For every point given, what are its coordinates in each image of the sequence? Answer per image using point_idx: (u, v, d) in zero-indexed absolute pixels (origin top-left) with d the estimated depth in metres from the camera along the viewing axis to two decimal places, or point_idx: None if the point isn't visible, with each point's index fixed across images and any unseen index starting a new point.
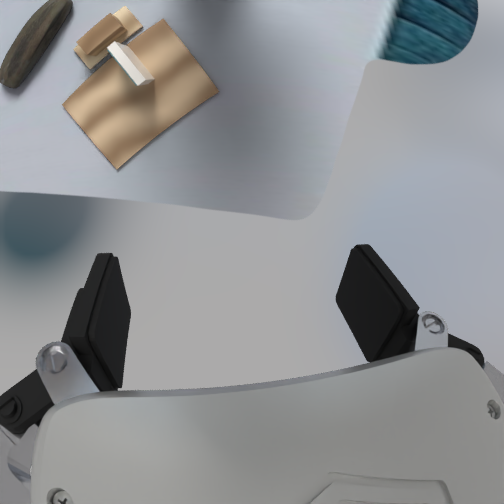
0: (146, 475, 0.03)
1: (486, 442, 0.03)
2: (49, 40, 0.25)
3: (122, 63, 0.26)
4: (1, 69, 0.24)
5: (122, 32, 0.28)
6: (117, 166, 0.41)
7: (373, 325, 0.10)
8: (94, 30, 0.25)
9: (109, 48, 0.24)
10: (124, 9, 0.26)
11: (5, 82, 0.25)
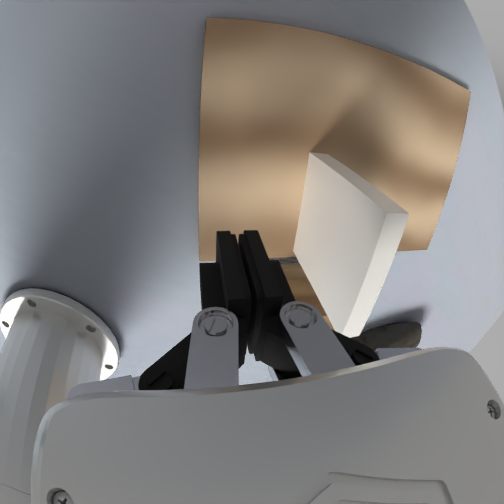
0: (146, 475, 0.03)
1: (486, 442, 0.03)
2: None
3: (376, 288, 0.12)
4: None
5: None
6: (467, 93, 0.15)
7: None
8: None
9: (358, 332, 0.14)
10: None
11: (418, 341, 0.29)
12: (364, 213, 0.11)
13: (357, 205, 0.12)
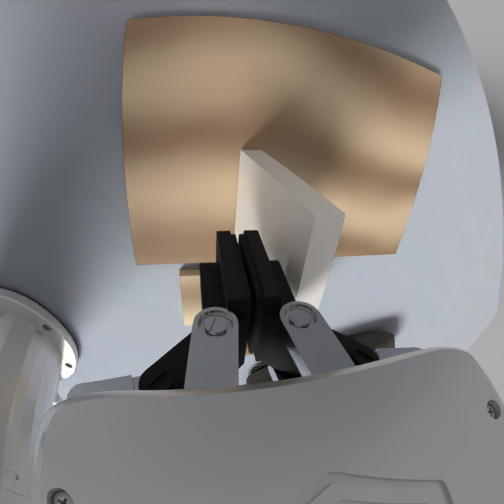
0: (146, 475, 0.03)
1: (486, 442, 0.03)
2: None
3: (315, 299, 0.11)
4: None
5: None
6: (437, 78, 0.14)
7: None
8: None
9: None
10: (189, 320, 0.22)
11: None
12: (292, 216, 0.10)
13: (285, 207, 0.11)
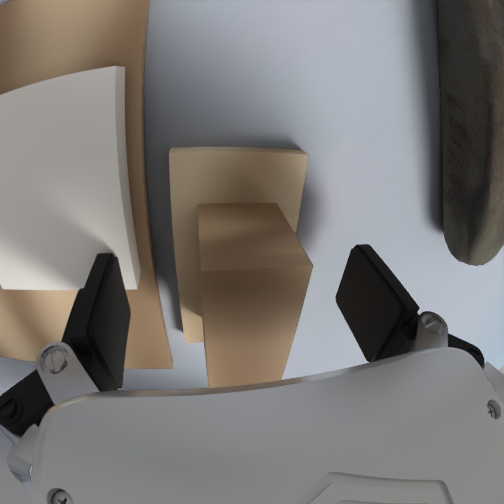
0: (146, 475, 0.03)
1: (486, 442, 0.03)
2: (453, 139, 0.10)
3: None
4: None
5: None
6: None
7: (373, 325, 0.10)
8: (274, 336, 0.09)
9: None
10: None
11: None
12: None
13: None
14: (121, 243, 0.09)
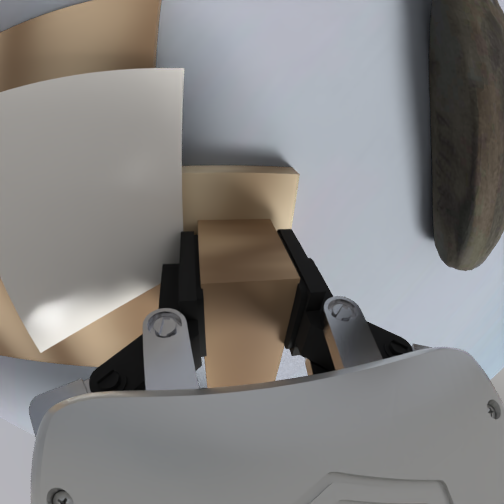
0: (146, 475, 0.03)
1: (486, 442, 0.03)
2: (442, 154, 0.11)
3: None
4: None
5: None
6: None
7: None
8: (267, 341, 0.10)
9: None
10: None
11: None
12: None
13: None
14: (178, 227, 0.11)
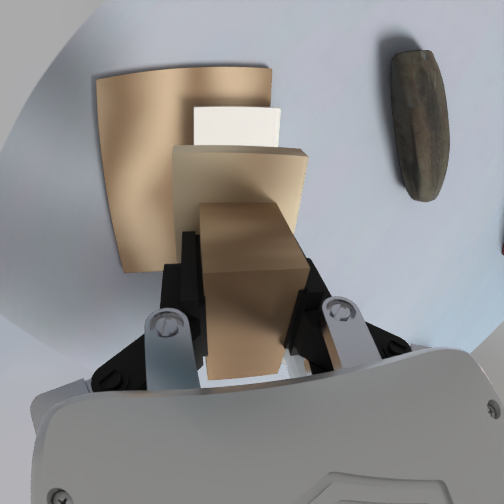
0: (146, 475, 0.03)
1: (486, 442, 0.03)
2: (400, 142, 0.25)
3: None
4: (437, 69, 0.20)
5: None
6: (99, 83, 0.19)
7: None
8: (271, 333, 0.10)
9: (273, 107, 0.22)
10: None
11: (418, 56, 0.19)
12: (202, 123, 0.21)
13: (202, 130, 0.21)
14: None
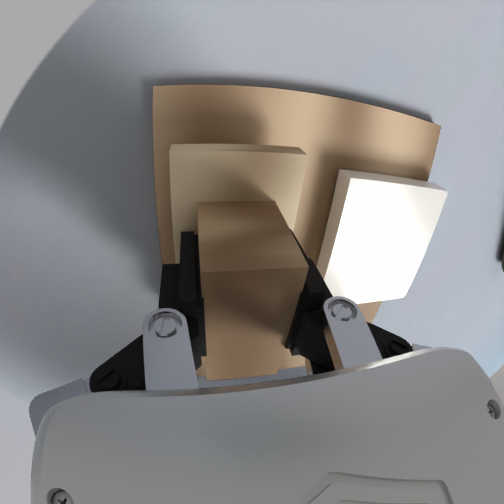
0: (146, 475, 0.03)
1: (486, 442, 0.03)
2: None
3: (400, 178, 0.14)
4: None
5: None
6: (160, 95, 0.10)
7: None
8: (270, 333, 0.10)
9: (433, 183, 0.14)
10: None
11: None
12: (357, 205, 0.13)
13: (353, 217, 0.13)
14: (413, 273, 0.17)
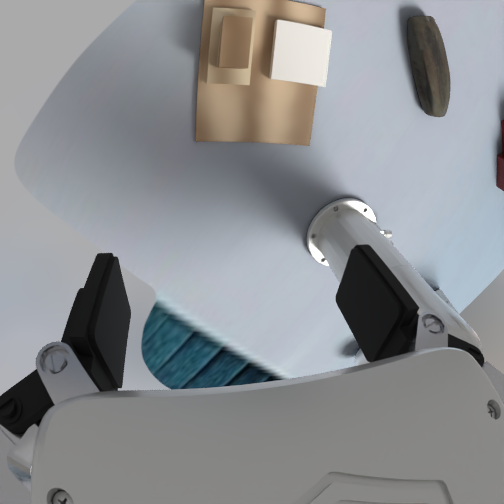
0: (146, 475, 0.03)
1: (486, 442, 0.03)
2: (416, 73, 0.31)
3: None
4: (437, 28, 0.25)
5: (217, 61, 0.27)
6: None
7: (373, 325, 0.10)
8: (243, 41, 0.23)
9: None
10: (245, 81, 0.29)
11: (424, 19, 0.25)
12: (282, 29, 0.26)
13: (281, 34, 0.26)
14: (325, 71, 0.30)
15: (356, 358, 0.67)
